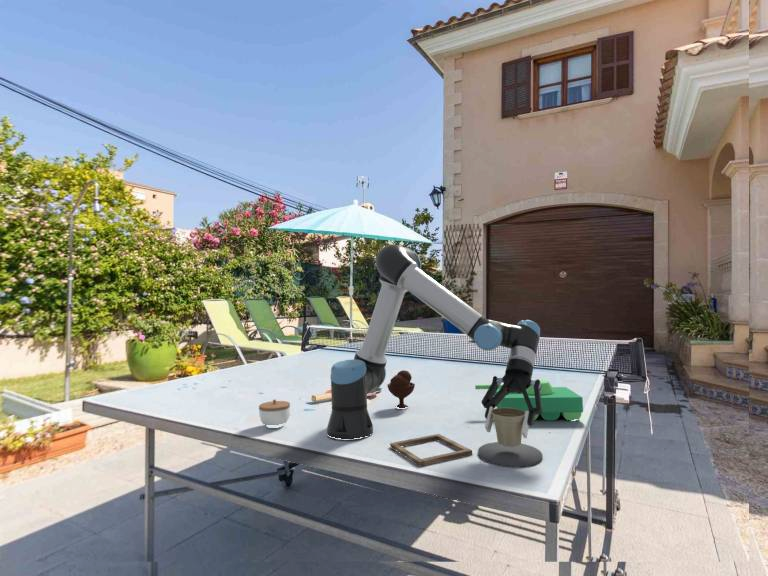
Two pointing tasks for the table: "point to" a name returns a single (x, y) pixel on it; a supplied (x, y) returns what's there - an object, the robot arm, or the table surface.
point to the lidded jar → (274, 412)
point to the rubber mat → (510, 455)
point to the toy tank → (545, 401)
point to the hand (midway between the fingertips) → (505, 432)
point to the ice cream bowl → (401, 386)
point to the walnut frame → (460, 453)
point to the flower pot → (508, 425)
